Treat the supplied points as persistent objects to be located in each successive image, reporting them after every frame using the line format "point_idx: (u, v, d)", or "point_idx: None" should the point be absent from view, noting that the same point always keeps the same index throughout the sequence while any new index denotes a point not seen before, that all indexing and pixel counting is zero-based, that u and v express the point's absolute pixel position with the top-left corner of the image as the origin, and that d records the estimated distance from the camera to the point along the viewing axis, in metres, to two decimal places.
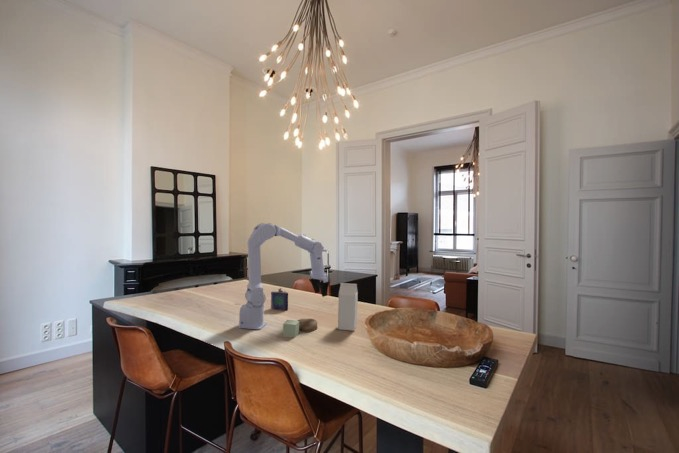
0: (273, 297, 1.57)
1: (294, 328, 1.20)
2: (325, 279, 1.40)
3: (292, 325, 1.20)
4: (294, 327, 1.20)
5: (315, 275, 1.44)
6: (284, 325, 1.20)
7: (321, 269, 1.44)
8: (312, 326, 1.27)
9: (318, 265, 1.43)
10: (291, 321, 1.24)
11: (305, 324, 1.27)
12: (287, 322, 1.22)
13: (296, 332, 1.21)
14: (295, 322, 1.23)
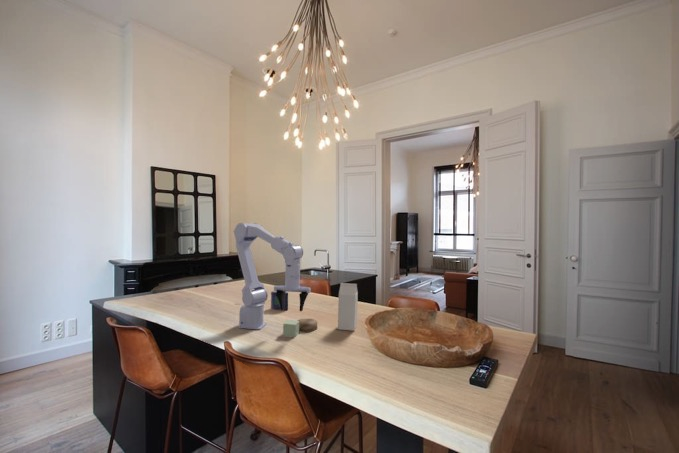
0: (273, 297, 1.57)
1: (294, 328, 1.20)
2: None
3: (292, 325, 1.20)
4: (294, 327, 1.20)
5: None
6: (284, 325, 1.20)
7: (285, 278, 1.22)
8: (312, 326, 1.27)
9: (287, 274, 1.20)
10: (291, 321, 1.24)
11: (305, 324, 1.27)
12: (287, 322, 1.22)
13: (296, 332, 1.21)
14: (295, 322, 1.23)
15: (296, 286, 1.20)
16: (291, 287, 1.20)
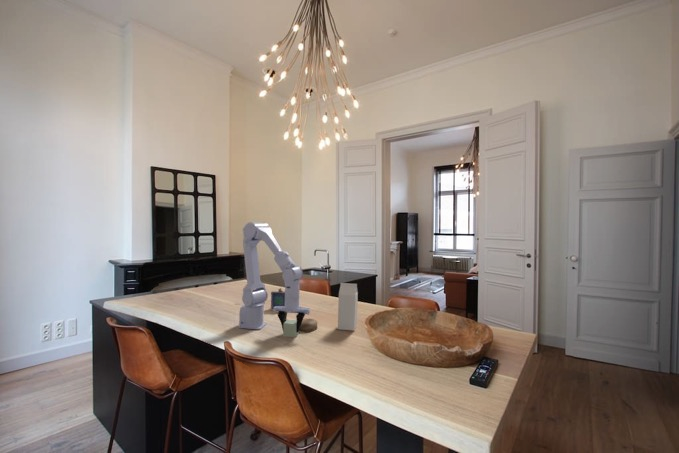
0: (273, 297, 1.57)
1: (294, 328, 1.20)
2: None
3: (292, 325, 1.20)
4: (294, 327, 1.20)
5: None
6: (284, 325, 1.20)
7: None
8: (312, 326, 1.27)
9: (286, 295, 1.20)
10: (291, 321, 1.24)
11: (305, 324, 1.27)
12: (287, 322, 1.22)
13: (296, 332, 1.21)
14: (295, 322, 1.23)
15: (295, 307, 1.21)
16: (290, 308, 1.20)
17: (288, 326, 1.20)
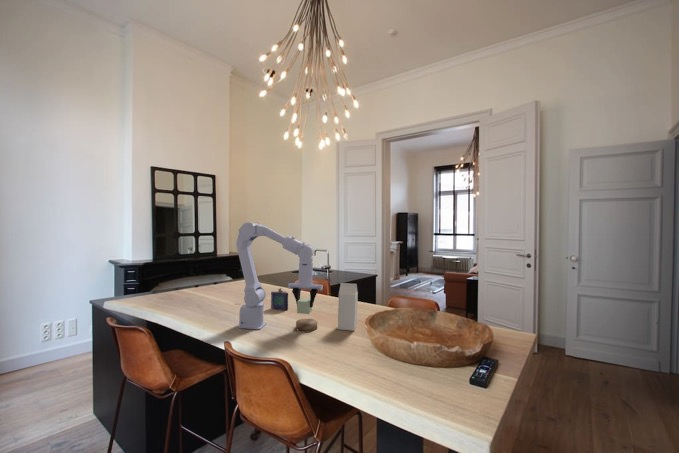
0: (273, 297, 1.57)
1: (307, 305, 1.26)
2: None
3: (305, 302, 1.26)
4: (307, 304, 1.26)
5: None
6: (298, 302, 1.27)
7: None
8: (312, 326, 1.27)
9: (302, 272, 1.27)
10: (304, 299, 1.30)
11: (305, 324, 1.27)
12: (301, 300, 1.29)
13: (309, 309, 1.28)
14: (309, 300, 1.29)
15: (309, 284, 1.27)
16: (304, 284, 1.26)
17: (302, 303, 1.27)
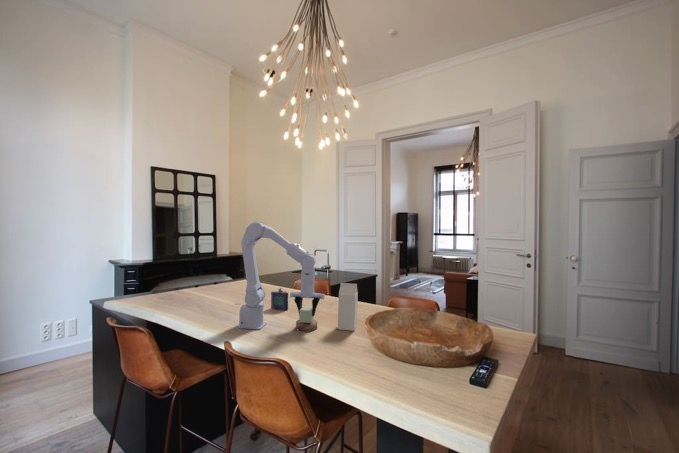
0: (273, 297, 1.57)
1: (310, 314, 1.28)
2: None
3: (308, 311, 1.28)
4: (310, 313, 1.28)
5: None
6: (300, 311, 1.28)
7: (301, 285, 1.31)
8: (312, 326, 1.27)
9: (305, 281, 1.28)
10: (306, 308, 1.32)
11: (305, 324, 1.27)
12: (303, 309, 1.30)
13: (311, 318, 1.29)
14: (311, 308, 1.31)
15: (311, 293, 1.29)
16: (307, 294, 1.28)
17: (304, 312, 1.28)
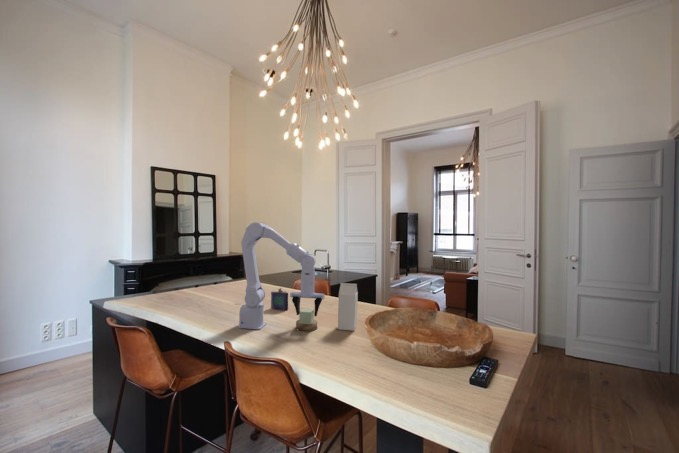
0: (273, 297, 1.57)
1: (310, 315, 1.28)
2: None
3: (308, 313, 1.28)
4: (310, 315, 1.28)
5: None
6: (300, 313, 1.28)
7: (301, 285, 1.31)
8: (312, 326, 1.27)
9: (305, 281, 1.28)
10: (306, 309, 1.32)
11: (305, 324, 1.27)
12: (303, 310, 1.30)
13: (311, 319, 1.29)
14: (311, 310, 1.31)
15: (311, 293, 1.29)
16: (307, 294, 1.28)
17: (304, 314, 1.28)
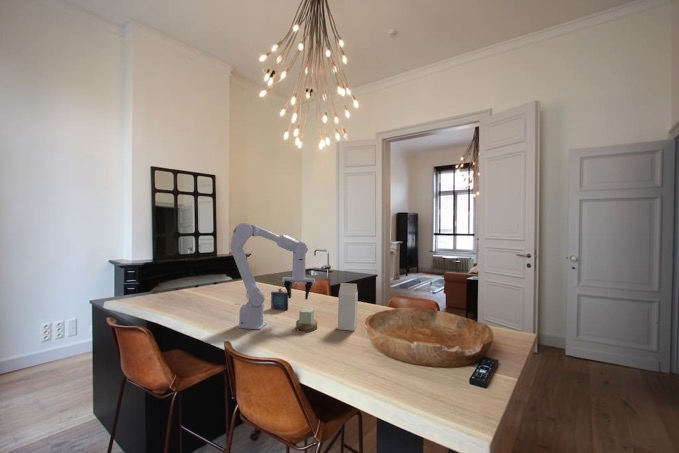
0: (273, 297, 1.57)
1: (310, 315, 1.28)
2: None
3: (308, 313, 1.28)
4: (310, 315, 1.28)
5: None
6: (300, 313, 1.28)
7: (292, 270, 1.38)
8: (312, 326, 1.27)
9: (299, 266, 1.36)
10: (306, 309, 1.31)
11: (305, 324, 1.27)
12: (303, 310, 1.30)
13: (311, 319, 1.29)
14: (311, 310, 1.31)
15: (302, 277, 1.37)
16: (298, 278, 1.36)
17: (304, 314, 1.28)
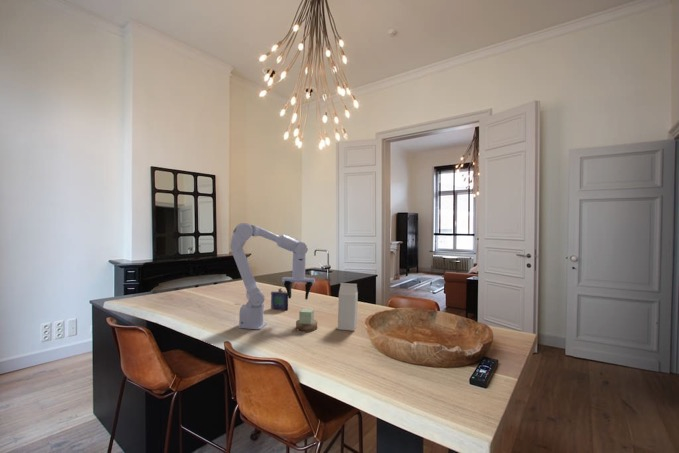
0: (273, 297, 1.57)
1: (310, 315, 1.28)
2: None
3: (308, 313, 1.28)
4: (310, 315, 1.28)
5: None
6: (300, 313, 1.28)
7: (292, 270, 1.38)
8: (312, 326, 1.27)
9: (299, 266, 1.36)
10: (306, 309, 1.31)
11: (305, 324, 1.27)
12: (303, 310, 1.30)
13: (311, 319, 1.29)
14: (311, 310, 1.31)
15: (302, 277, 1.37)
16: (298, 278, 1.36)
17: (304, 314, 1.28)
